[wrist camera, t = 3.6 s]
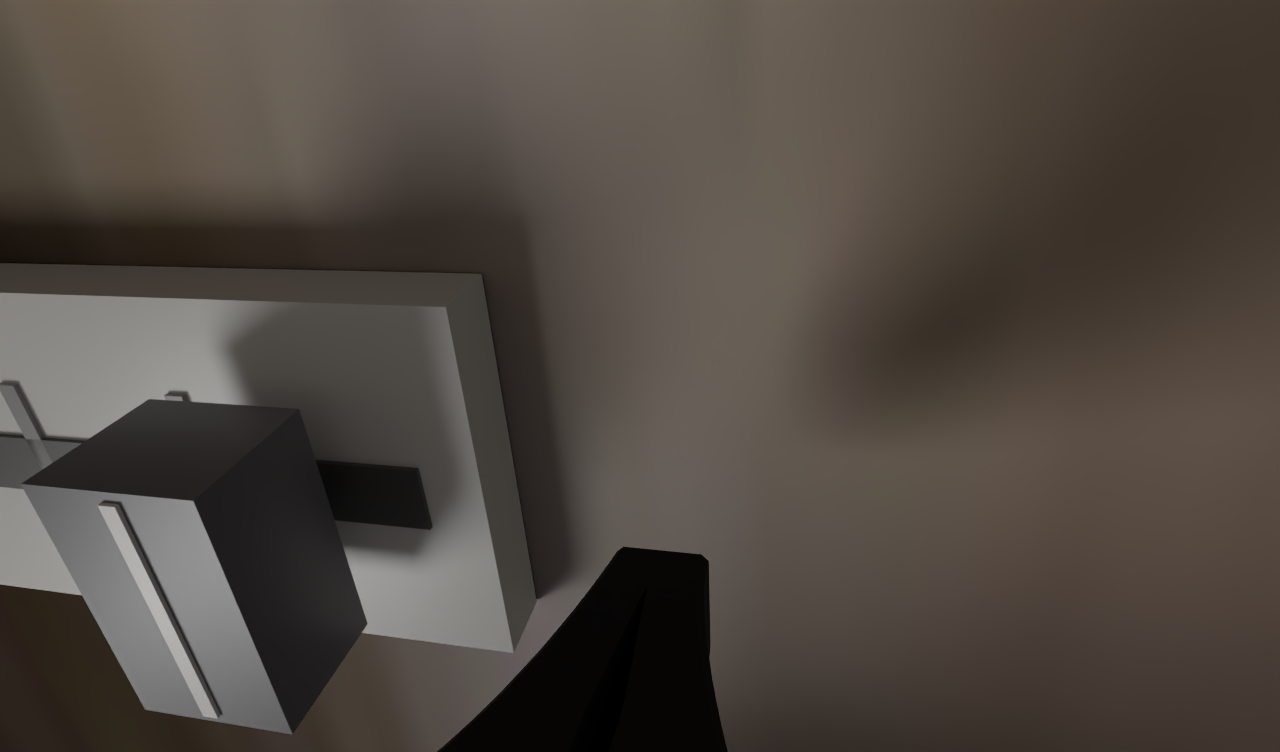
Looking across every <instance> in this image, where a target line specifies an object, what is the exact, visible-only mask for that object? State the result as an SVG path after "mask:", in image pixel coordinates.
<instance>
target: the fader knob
mask: <svg viewBox="0 0 1280 752" xmlns="http://www.w3.org/2000/svg"><path fill="white" fill-rule="evenodd" d="M21 486H22V487H23V489H24V491H25V493H26V495H27V496H28V498H29V500H30V502H31V504H32V505H33V507H34V509H35V511H36V513H37V515H38V516H39V518H40V520H41V522H42V524H43V525H44V527H45V529H46V531H47V533H48V534H49V536H50V538H51V540H52V542H53V543H54V545H55V547H56V549H57V551H58V552H59V554H60V556H61V558H62V560H63V562H64V563H65V565H66V567H67V569H68V571H69V572H70V574H71V576H72V578H73V580H74V581H75V583H76V585H77V587H78V589H79V590H80V592H81V594H82V596H83V598H84V599H85V601H86V603H87V605H88V607H89V609H90V610H91V612H92V614H93V616H94V618H95V619H96V621H97V623H98V625H99V627H100V628H101V630H102V632H103V634H104V636H105V637H106V639H107V641H108V643H109V645H110V646H111V648H112V650H113V652H114V654H115V656H116V657H117V659H118V661H119V663H120V665H121V666H122V668H123V670H124V672H125V674H126V675H127V677H128V679H129V681H130V683H131V684H132V686H133V688H134V690H135V692H136V694H137V695H138V697H139V699H140V701H141V703H142V704H143V706H144V708H145V710H151V711H157V712H163V713H169V714H175V715H181V716H186V717H192V718H198V719H204V720H210V721H216V722H222V723H228V724H234V725H240V726H246V727H252V728H257V729H263V730H269V731H275V732H281V733H287V734H293V733H294V731H295V730H296V729H297V727H298V726H299V724H300V723H301V721H302V720H303V718H304V717H305V715H306V714H307V712H308V711H309V709H310V708H311V706H312V705H313V704H314V702H315V701H316V699H317V698H318V696H319V695H320V693H321V692H322V690H323V689H324V687H325V686H326V684H327V683H328V681H329V680H330V679H331V677H332V676H333V674H334V673H335V671H336V670H337V668H338V667H339V665H340V664H341V662H342V661H343V659H344V658H345V656H346V655H347V654H348V652H349V651H350V649H351V648H352V646H353V645H354V643H355V642H356V640H357V639H358V637H359V636H360V634H361V633H362V632H363V630H364V629H365V627H366V626H367V624H368V623H367V620H366V617H365V614H364V611H363V608H362V605H361V601H360V598H359V595H358V592H357V589H356V586H355V583H354V579H353V576H352V573H351V570H350V567H349V564H348V561H347V557H346V554H345V551H344V548H343V545H342V542H341V539H340V535H339V532H338V529H337V526H336V523H335V520H334V517H333V513H332V510H331V507H330V504H329V501H328V498H327V495H326V491H325V488H324V485H323V482H322V479H321V476H320V473H319V470H318V466H317V463H316V460H315V457H314V454H313V451H312V448H311V444H310V441H309V438H308V435H307V432H306V429H305V426H304V422H303V419H302V416H301V413H300V410H299V409H294V408H278V407H263V406H248V405H233V404H218V403H203V402H187V401H172V400H157V399H148V400H147V401H145V402H144V403H142V404H141V405H139V406H138V407H136V408H135V409H133V410H132V411H130V412H129V413H127V414H126V415H124V416H123V417H121V418H120V419H118V420H117V421H115V422H113V423H112V424H110V425H109V426H107V427H106V428H104V429H103V430H101V431H100V432H98V433H97V434H95V435H94V436H92V437H91V438H89V439H88V440H86V441H85V442H83V443H82V444H80V445H79V446H77V447H76V448H74V449H73V450H71V451H70V452H68V453H67V454H65V455H64V456H62V457H61V458H59V459H58V460H56V461H55V462H53V463H52V464H50V465H49V466H47V467H46V468H44V469H42V470H41V471H39V472H38V473H36V474H35V475H33V476H32V477H30V478H29V479H27V480H26V481H24V482H23V483H21Z"/></svg>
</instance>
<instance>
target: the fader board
mask: <svg viewBox="0 0 1280 752" xmlns="http://www.w3.org/2000/svg"><path fill="white" fill-rule="evenodd" d="M148 399H157V400H172V401H187V402H203V403H218V404H233V405H248V406H263V407H278V408H294V409H299V410H300V413H301V416H302V419H303V422H304V426H305V429H306V432H307V435H308V438H309V441H310V444H311V448H312V451H313V454H314V457H315V460H316V463H317V466H318V470H319V473H320V476H321V479H322V482H323V485H324V488H325V491H326V495H327V498H328V501H329V504H330V507H331V510H332V513H333V517H334V520H335V523H336V526H337V529H338V532H339V535H340V539H341V542H342V545H343V548H344V551H345V554H346V557H347V561H348V564H349V567H350V570H351V573H352V576H353V579H354V583H355V586H356V589H357V592H358V595H359V598H360V601H361V605H362V608H363V611H364V614H365V617H366V620H367V623H368V624H367V626H366V627H365V629H364V630H363V632H362V633H368V634H375V635H383V636H390V637H398V638H405V639H412V640H420V641H427V642H435V643H442V644H450V645H457V646H465V647H472V648H480V649H487V650H495V651H502V652H510V653H514V651H515V649H516V647H517V645H518V642H519V640H520V638H521V636H522V633H523V631H524V629H525V627H526V624H527V622H528V620H529V618H530V615H531V613H532V611H533V609H534V606H535V604H536V602H537V601H536V595H535V589H534V583H533V577H532V571H531V565H530V559H529V553H528V547H527V541H526V535H525V529H524V523H523V517H522V511H521V505H520V499H519V494H518V488H517V482H516V476H515V470H514V464H513V458H512V452H511V446H510V440H509V434H508V428H507V422H506V416H505V410H504V404H503V398H502V392H501V387H500V381H499V375H498V369H497V363H496V357H495V351H494V345H493V339H492V333H491V327H490V321H489V315H488V309H487V303H486V297H485V291H484V286H483V280H482V274H470V273H425V272H380V271H334V270H289V269H244V268H199V267H154V266H109V265H63V264H18V263H0V584H2V585H9V586H17V587H24V588H32V589H39V590H47V591H54V592H62V593H69V594H77V595H82V594H81V592H80V590H79V589H78V587H77V585H76V583H75V581H74V580H73V578H72V576H71V574H70V572H69V571H68V569H67V567H66V565H65V563H64V562H63V560H62V558H61V556H60V554H59V552H58V551H57V549H56V547H55V545H54V543H53V542H52V540H51V538H50V536H49V534H48V533H47V531H46V529H45V527H44V525H43V524H42V522H41V520H40V518H39V516H38V515H37V513H36V511H35V509H34V507H33V505H32V504H31V502H30V500H29V498H28V496H27V495H26V493H25V491H24V489H23V487H22V486H21V483H23V482H24V481H26V480H27V479H29V478H30V477H32V476H33V475H35V474H36V473H38V472H39V471H41V470H42V469H44V468H46V467H47V466H49V465H50V464H52V463H53V462H55V461H56V460H58V459H59V458H61V457H62V456H64V455H65V454H67V453H68V452H70V451H71V450H73V449H74V448H76V447H77V446H79V445H80V444H82V443H83V442H85V441H86V440H88V439H89V438H91V437H92V436H94V435H95V434H97V433H98V432H100V431H101V430H103V429H104V428H106V427H107V426H109V425H110V424H112V423H113V422H115V421H117V420H118V419H120V418H121V417H123V416H124V415H126V414H127V413H129V412H130V411H132V410H133V409H135V408H136V407H138V406H139V405H141V404H142V403H144V402H145V401H147V400H148Z"/></svg>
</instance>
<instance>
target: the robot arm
mask: <svg viewBox="0 0 1280 752" xmlns="http://www.w3.org/2000/svg"><path fill="white" fill-rule="evenodd" d="M709 655H710V604H709V561H708V560H707V559H706V558H704V557H703V556H702V555H701V554H691V553H681V552H670V551H660V550H650V549H640V548H630V547H623V548H621V549H620V550H619V551H617V552H616V554H615V555H614V557H613V558H612V560H611V561H610V563H609V564H608V565H607V567H606V568H605V570H604V571H603V572H602V574H601V575H600V576H599V578H598V579H597V580H596V582H595V583H594V585H593V586H592V587H591V588H590V590H589V591H588V592H587V594H586V595H585V596H584V598H583V599H582V600H581V601H580V603H579V604H578V605H577V606H576V608H575V609H574V610H573V612H572V613H571V614H570V615H569V616H568V618H567V619H566V620H565V621H564V622H563V623H562V625H561V626H560V627H559V628H558V629H557V631H556V632H555V633H554V634H553V635H552V637H551V638H550V639H549V640H548V641H547V643H546V644H545V645H544V646H543V647H542V648H541V650H540V651H539V652H538V653H537V654H536V655H535V656H534V657H533V658H532V659H531V660H530V662H529V663H528V664H527V665H526V666H525V667H524V668H523V669H522V670H521V671H520V672H519V673H518V674H517V675H516V677H515V678H514V679H513V680H512V681H511V682H510V683H509V684H508V685H507V686H506V687H505V688H504V689H503V690H502V692H501V693H500V694H499V695H498V696H497V697H496V698H495V699H494V700H493V701H492V702H490V703H489V704H488V705H487V706H486V707H485V708H484V709H483V710H482V711H481V712H480V713H479V714H478V715H477V716H476V717H475V718H474V719H473V720H472V721H471V722H470V723H469V724H468V725H466V726H465V727H464V728H463V729H462V730H461V731H460V732H459V733H458V734H457V735H456V736H454V737H453V738H452V739H451V740H450V741H449V742H448V743H447V744H446V745H444V746H443V747H442V748H441V749H440V750H438V751H437V752H728V751H727V747H726V743H725V739H724V735H723V730H722V726H721V721H720V716H719V712H718V707H717V702H716V697H715V692H714V687H713V681H712V675H711V668H710V661H709Z"/></svg>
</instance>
